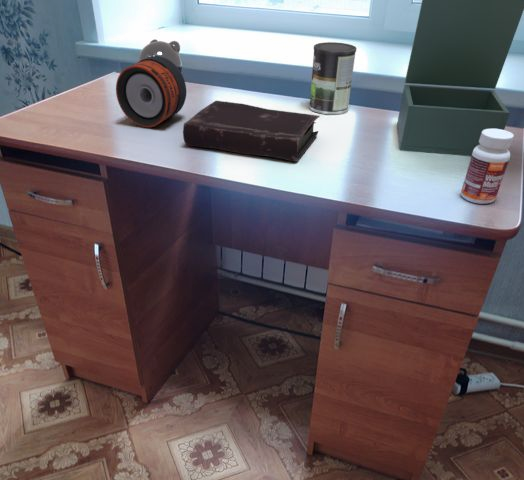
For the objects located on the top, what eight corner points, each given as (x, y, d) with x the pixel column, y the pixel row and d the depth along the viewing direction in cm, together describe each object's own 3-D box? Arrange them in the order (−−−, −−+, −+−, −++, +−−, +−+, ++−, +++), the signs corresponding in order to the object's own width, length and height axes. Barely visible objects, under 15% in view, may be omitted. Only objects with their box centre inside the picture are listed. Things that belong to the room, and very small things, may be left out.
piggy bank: (191, 83, 146) (188, 38, 138) (171, 97, 135) (167, 48, 128) (155, 80, 148) (151, 35, 140) (133, 93, 137) (126, 45, 130)
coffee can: (312, 115, 126) (317, 50, 117) (306, 102, 134) (310, 41, 125) (352, 114, 127) (360, 51, 118) (344, 102, 135) (351, 42, 126)
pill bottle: (480, 207, 89) (502, 142, 81) (452, 195, 92) (471, 131, 85) (502, 199, 91) (525, 135, 84) (474, 187, 95) (493, 125, 88)
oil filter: (120, 124, 118) (110, 62, 109) (145, 110, 127) (138, 51, 118) (170, 131, 115) (164, 67, 106) (192, 116, 124) (188, 56, 115)
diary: (296, 164, 102) (297, 139, 99) (183, 147, 108) (181, 123, 104) (318, 135, 115) (320, 112, 112) (217, 121, 121) (216, 99, 118)
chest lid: (528, -2, 99) (523, -17, 103) (424, -7, 101) (423, -21, 105) (495, 88, 113) (492, 72, 117) (404, 83, 115) (404, 67, 119)
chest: (495, 157, 107) (509, 112, 101) (399, 150, 109) (408, 105, 103) (482, 131, 120) (494, 90, 114) (396, 125, 122) (404, 84, 116)
